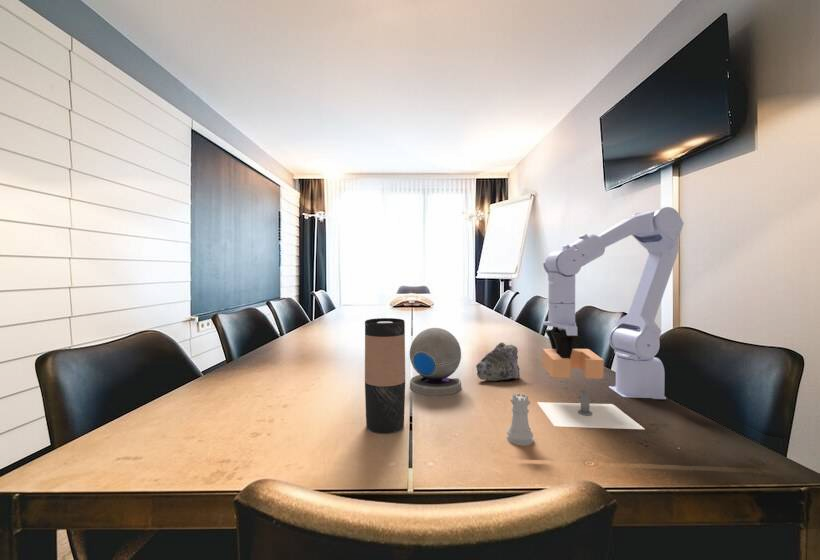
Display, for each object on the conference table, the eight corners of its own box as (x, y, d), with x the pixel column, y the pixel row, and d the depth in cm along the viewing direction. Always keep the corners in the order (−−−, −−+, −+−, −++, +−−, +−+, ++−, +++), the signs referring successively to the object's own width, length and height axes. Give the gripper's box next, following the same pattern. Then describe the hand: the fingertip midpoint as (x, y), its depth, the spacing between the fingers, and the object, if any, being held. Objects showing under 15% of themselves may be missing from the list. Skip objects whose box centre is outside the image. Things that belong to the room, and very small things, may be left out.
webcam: (469, 384, 97) (469, 326, 97) (446, 398, 87) (446, 333, 86) (425, 377, 104) (425, 323, 104) (399, 389, 93) (399, 329, 93)
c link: (603, 378, 79) (603, 360, 79) (552, 377, 80) (552, 359, 80) (587, 365, 87) (588, 348, 87) (542, 365, 88) (542, 348, 88)
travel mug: (410, 420, 74) (410, 318, 73) (396, 437, 66) (396, 324, 66) (375, 416, 76) (374, 317, 76) (357, 431, 69) (357, 322, 68)
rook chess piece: (535, 449, 62) (535, 401, 61) (507, 447, 63) (507, 399, 62) (532, 437, 66) (532, 392, 66) (505, 435, 67) (506, 390, 67)
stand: (612, 406, 81) (612, 383, 81) (645, 431, 68) (645, 404, 68) (536, 404, 83) (537, 381, 82) (554, 429, 70) (554, 402, 70)
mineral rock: (477, 385, 97) (477, 346, 97) (470, 374, 108) (470, 339, 108) (527, 384, 97) (527, 346, 97) (515, 373, 108) (515, 338, 108)
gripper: (535, 300, 94) (535, 354, 94) (553, 305, 79) (552, 369, 80) (564, 300, 93) (564, 355, 94) (587, 305, 79) (587, 370, 79)
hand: (561, 361), depth 87 cm, fingers closed on c link, 2 cm apart
